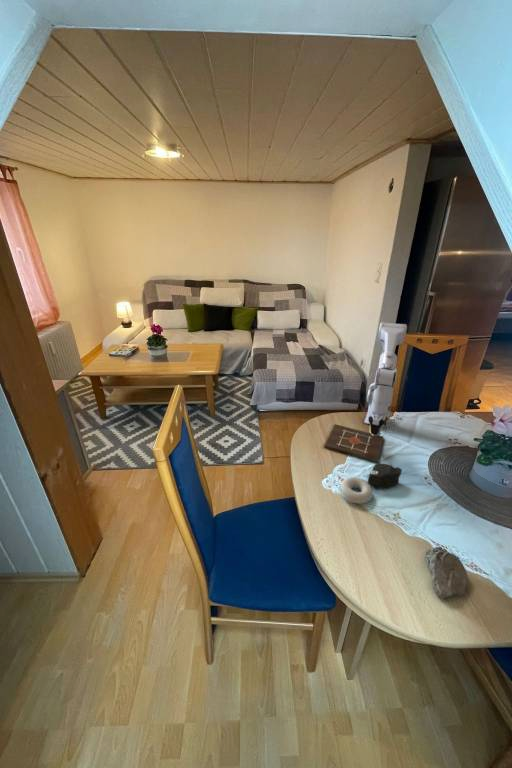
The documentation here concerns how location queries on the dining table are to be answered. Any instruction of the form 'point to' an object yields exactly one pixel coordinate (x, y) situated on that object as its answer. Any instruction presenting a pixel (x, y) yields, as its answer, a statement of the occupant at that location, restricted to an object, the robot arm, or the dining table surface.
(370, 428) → the alphabet block
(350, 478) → the donut
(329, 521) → the dining table surface
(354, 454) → the board
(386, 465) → the mineral
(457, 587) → the brown rock
